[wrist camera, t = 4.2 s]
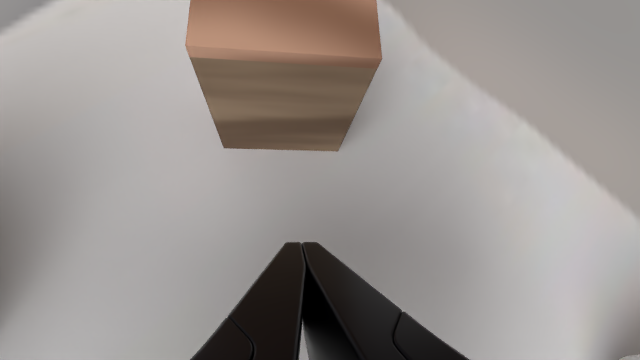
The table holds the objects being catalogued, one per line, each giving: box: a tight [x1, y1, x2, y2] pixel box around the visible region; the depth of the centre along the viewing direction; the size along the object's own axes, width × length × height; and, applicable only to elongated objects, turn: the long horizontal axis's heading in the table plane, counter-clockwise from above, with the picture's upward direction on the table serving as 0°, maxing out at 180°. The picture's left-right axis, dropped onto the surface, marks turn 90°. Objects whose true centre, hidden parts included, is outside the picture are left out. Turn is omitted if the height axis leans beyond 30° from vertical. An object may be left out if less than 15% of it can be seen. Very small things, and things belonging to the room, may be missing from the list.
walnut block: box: [185, 0, 382, 151], centre depth 16 cm, size 4×7×9 cm, turn 92°
